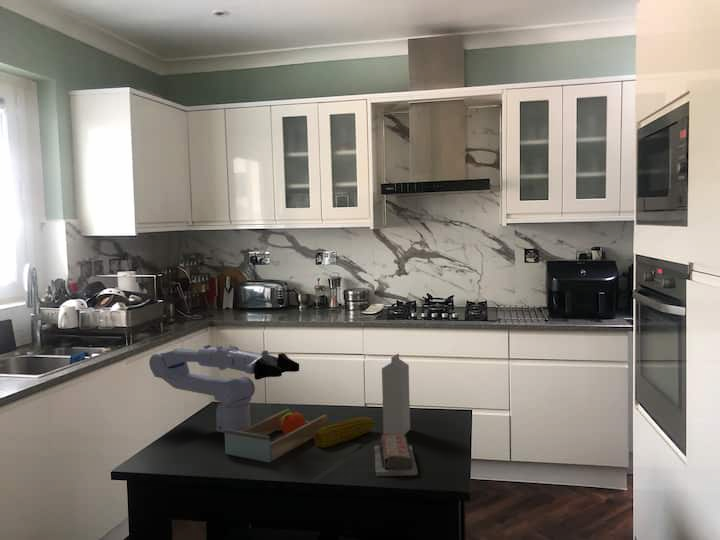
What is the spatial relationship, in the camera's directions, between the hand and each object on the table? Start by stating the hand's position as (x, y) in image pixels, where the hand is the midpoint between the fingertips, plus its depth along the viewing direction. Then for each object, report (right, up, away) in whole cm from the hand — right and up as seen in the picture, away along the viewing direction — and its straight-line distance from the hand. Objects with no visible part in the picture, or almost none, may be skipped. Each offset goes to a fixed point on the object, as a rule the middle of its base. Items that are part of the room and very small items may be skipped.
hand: (289, 370), depth 173 cm
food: (+15, -20, +4) cm, 26 cm away
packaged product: (+28, -22, -12) cm, 37 cm away
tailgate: (-9, -21, -9) cm, 25 cm away
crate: (-3, -20, +3) cm, 21 cm away
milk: (+29, -19, +10) cm, 36 cm away
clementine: (0, -20, +8) cm, 22 cm away
